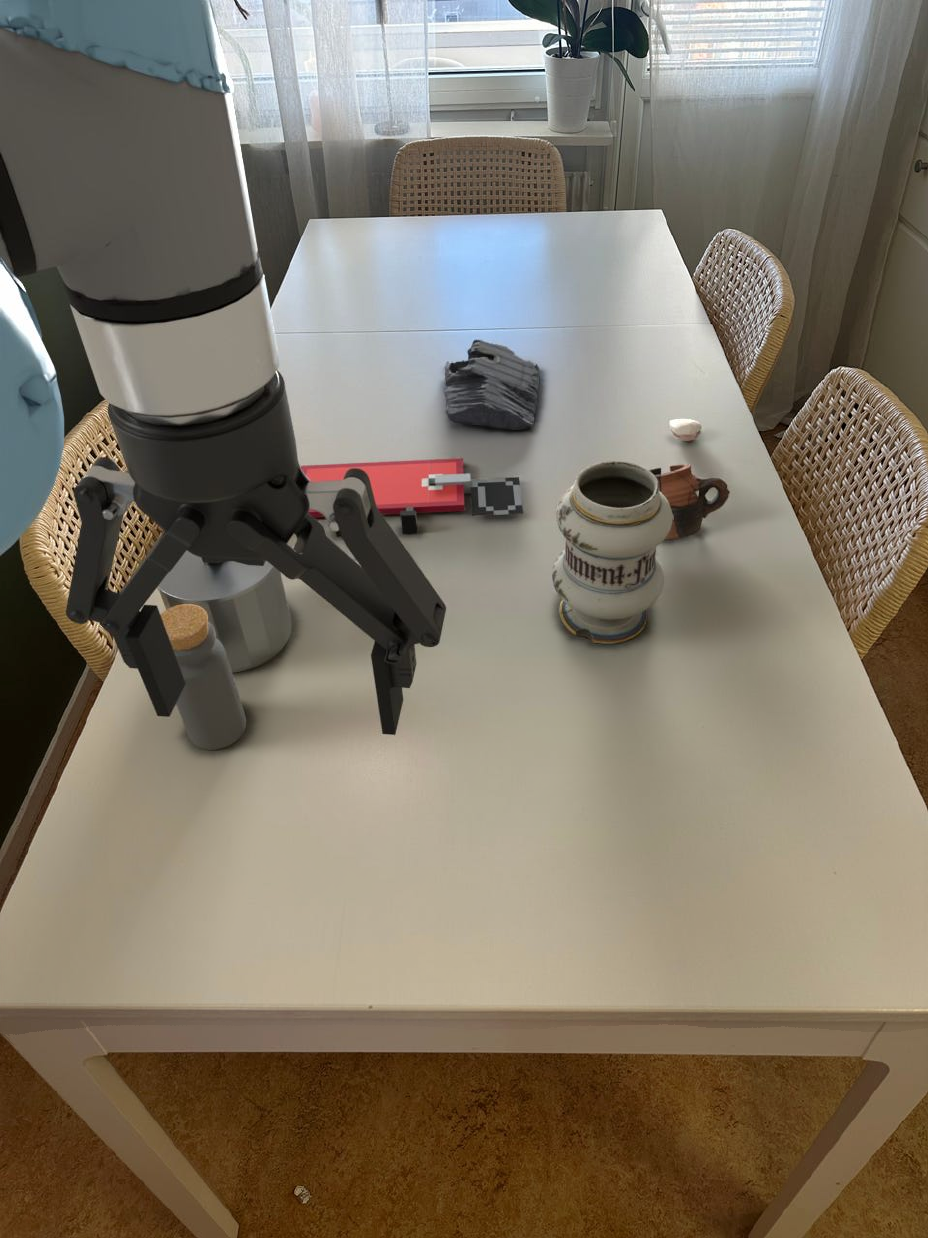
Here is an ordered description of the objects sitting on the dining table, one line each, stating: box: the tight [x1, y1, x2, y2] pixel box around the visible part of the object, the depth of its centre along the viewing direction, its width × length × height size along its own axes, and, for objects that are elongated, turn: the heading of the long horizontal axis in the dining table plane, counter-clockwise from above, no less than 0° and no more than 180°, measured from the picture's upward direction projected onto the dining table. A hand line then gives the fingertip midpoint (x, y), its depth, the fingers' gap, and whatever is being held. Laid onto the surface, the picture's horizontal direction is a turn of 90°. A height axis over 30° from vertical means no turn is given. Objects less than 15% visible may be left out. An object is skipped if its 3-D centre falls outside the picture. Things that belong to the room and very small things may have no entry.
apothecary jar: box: [551, 460, 673, 645], centre depth 92 cm, size 12×12×18 cm
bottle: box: [160, 604, 247, 751], centre depth 83 cm, size 6×6×15 cm
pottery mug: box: [648, 464, 731, 541], centre depth 110 cm, size 12×10×8 cm
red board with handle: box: [300, 457, 524, 538], centre depth 115 cm, size 30×3×15 cm
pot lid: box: [156, 550, 275, 604], centre depth 89 cm, size 13×13×7 cm
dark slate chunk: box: [444, 339, 540, 431], centre depth 133 cm, size 15×22×5 cm
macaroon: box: [669, 418, 702, 442], centre depth 124 cm, size 4×5×2 cm
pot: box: [159, 568, 293, 674], centre depth 94 cm, size 12×12×10 cm
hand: (281, 708), depth 52 cm, fingers open, 13 cm apart
